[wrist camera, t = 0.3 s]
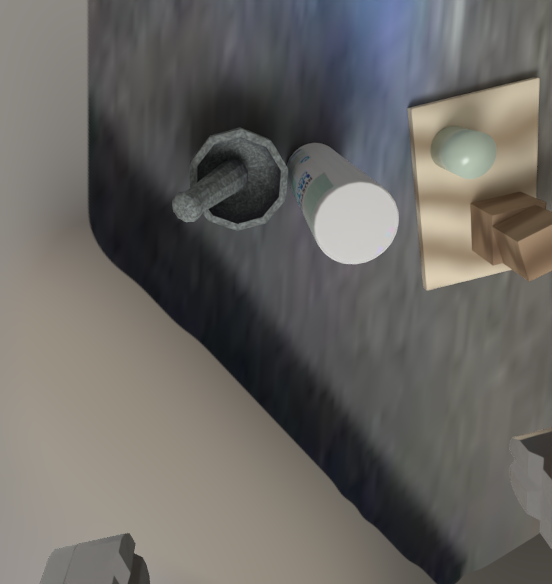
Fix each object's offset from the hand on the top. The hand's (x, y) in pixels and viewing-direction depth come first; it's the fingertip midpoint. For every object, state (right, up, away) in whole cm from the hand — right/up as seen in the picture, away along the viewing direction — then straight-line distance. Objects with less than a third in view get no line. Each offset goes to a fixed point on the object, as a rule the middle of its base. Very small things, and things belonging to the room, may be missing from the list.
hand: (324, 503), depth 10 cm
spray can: (+3, +18, +44) cm, 48 cm away
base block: (+25, +13, +48) cm, 55 cm away
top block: (+26, +11, +43) cm, 51 cm away
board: (+22, +16, +47) cm, 54 cm away
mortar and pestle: (-6, +18, +43) cm, 47 cm away
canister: (+18, +20, +43) cm, 51 cm away
